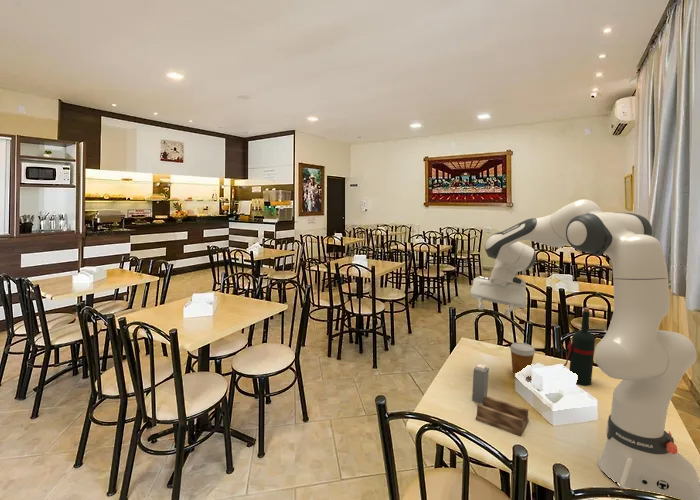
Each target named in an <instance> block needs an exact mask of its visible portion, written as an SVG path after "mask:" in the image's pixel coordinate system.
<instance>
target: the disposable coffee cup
mask: <svg viewBox="0 0 700 500" xmlns="http://www.w3.org/2000/svg"><path fill="white" fill-rule="evenodd" d="M509 349H510V354H511V356H510V357H511V369H512V374H513V375H514V374H515V373H517V372H519V371H521V370H522V369H523V368H525V367H526V366H527V365H531V364H533V361H534V355H535V354H536V350H535V347H534V346H533V345H530V344H528V343H525V342H513V343H511V345H510V347H509ZM531 366H532V365H531Z"/></svg>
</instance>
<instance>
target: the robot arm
mask: <svg viewBox="0 0 700 500" xmlns="http://www.w3.org/2000/svg"><path fill="white" fill-rule="evenodd" d="M652 235H653V227H652V224H651V222H650V221H649V220H648V219H647V218H646V217H645V216H643V215H641V214H636V213H632V212H618V211H617V212H610V211H605V212H604V211H603V210H602V209H601V208H600V206H599V205H598V204H597V203H596V202H594V201H592V200H590V199H585V198H584V199H583V198H582V199H577V200H575V201H572V202H570V203H568V204H566V205H564V206H562V207H561V208H560V209H557V210H556V211H555V212H553V213H551V214H549V215H545V216H541V217H531V218H527V219H525V220H523V221H521V222H518V223H516V224H514V225H513V226H511V227H509V228H507V229H505V230H502V231H499V232H496V233H493V234H491V235H490V236H489V237H488V238H487V240H486V242H485V244H484V250H485V253H486V255H487V257H489V258H490V259H494V260H495V261H494V266H493V268H492V270H491V274H490V277H486V276H485V277H483V276H479V275H478V276H477V277H475V278H474V279H473V282H472V286H471V289H470V291H469V294H470V296H471V298H473V299H477V301H478V310H479V311H483V310H484V306H485V305H484V304H483V303H482V302H483V301H487V302H491V303H494V304H500V305H505V306H509V308H508V309H504V313H503V315H504V316H506V317H509V315H510V314H511V312H512V311H513V310H514V309H515V308H519V309H524V308H525V307H526V304H527V290H526V288H527V284H526V281H525V280H524V279H522V278H519V277H518V276H516V274H517V273H518V272H519V273H520V272H524V271H528V270H530V269H532V268H533V267H534V264H535V262H536V259H537V255H536V253H537V252H536V251H535V248H533V247H531V246H530V245H527V244H526V243H523V242H521V241H531V242H535V243H538V244H543V245H545V246H547V247H553V248H563V247H566V246H570V247H572V248H573V249H574V250H576V251H577V250H578V251H580V252H583V253H587V254H590V255H593V256H597V257H600V256H601V255H603V254H604V255H606V256H607V257H609V259H610V261H611V264H612V265H611V266H612V279H613V280H612V283H613V311H612V312H613V313H612V315H611V319H610V323H609V326H608V328H607V331H606V332H605V334H604V336H603V338H602V339H601V340H600V341H598V343H597V344H595V345H596V346H595V347H594V359H595V363H596V364H597V366H598V368H599V369H600V370H601V372H602V373H603V374H605V375H606V376H607V377H609V378H611V379H615V380H621V382H619V383H618V384H617V385H616V387H615V388H614V389H613V390H614V391H613V393H612V401H611V409H610V414H609V416H608V419H607V423H606V433H605V434H606V442H605V445H604V448H603V451H602V453H601V455H600V457H599V458H598V461H597V465H598V468H599V469H600V471H601V470H602V471H603V472H604V473H605V474H606V475H607V476H609V477H610V478H612V479H613V480H614V481H615V482H617V483H619V484H620V486H618V487H619V489H621V488H630V489H638V490H644V491H650V492H655V493H660V494H664V495H668V496H672V497H675V498H679V499H682V500H700V480H699V476H698V474H697V470H696V469H695V468H694V466H693V464H692V463H691V462H690V461H689V460H688V459H687V458H685V457H684V456H683V455H682V454H681V453H680V452H679V451H678V446H677V445H676V444H675V439H674V437H673V436H672V433H671V431H666V429H665V428H666V422H667V415H668V409H669V406H670V403H671V400H672V398H673V395H674V393H675V392H676V389H677V387H678V385H679V383H680V382H681V380H682V378H683V376H684V375H685V374H686V373H687V371H688V370H689V369H690V368H691V367H692V366H693V365H694V364H695V363H696V360H697V358H698V357H697V356H698V352H697V349H696V347H695V345H694V343H693V342H692V341H691V340H690V338H688V337H687V336H685V335H683V334H682V333H680V332H675V331H670V330H663V329H662V330H661V329H659V328H660V325H661V322H662V321H663V320H664V318H665V317H666V315H668V313H669V312H670V310H671V309H670V307H671V304H670V303H671V301H670V288H669V275H668V267H667V261H666V257H665V253H664V250H663V247H662V245H661V242H660V241H659V240H658V239H657V238H656V237H654V236H652ZM602 471H601V472H602ZM603 472H602V473H603ZM604 473H603V474H604ZM605 474H604V475H605ZM606 475H605V476H606ZM607 476H606V477H607ZM615 482H614V483H615Z"/></svg>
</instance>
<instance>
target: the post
mask: <svg viewBox="0 0 700 500" xmlns="http://www.w3.org/2000/svg"><path fill="white" fill-rule="evenodd" d="M486 366H487V365H484V364H481V363H478V364H477V365H476V366H475V367H474V368H473V373H472V374H473V375H472V376H473V380H472V394H471V395H472V396H471V399H472V400H471V401H473V402H475V403H478V404H481V405H483V403H484V396H488V386H489V385H488V384H489V371H490V370H489V367H486Z"/></svg>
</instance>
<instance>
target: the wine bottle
mask: <svg viewBox="0 0 700 500" xmlns="http://www.w3.org/2000/svg"><path fill="white" fill-rule="evenodd" d="M589 320H590V307H583V311H582V317H581V328H580V329H581V330H578V331H576V332H575V333H574V334H573V336H572V340H571V341H570V340H569V341H568V345H567V351H568V353H567V357H566V360H565V363H564V364H563V366H565V367H566V366H567V364H568V362H569V370H570V371H572V372H573V373H576V374H577V375H578V380H577V384H576V385H578V386H580V387H581V386H584V387H585V386H586V387H588V386H589V387H590V386H591V385H592V379H593V378H592V376H593V366H594V358H595V347H596V346H595V345H596V339H595V336H594V335H593V334H591V333H590V332H589V322H590V321H589ZM569 358H570V361H569ZM569 370H568V371H569Z"/></svg>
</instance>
